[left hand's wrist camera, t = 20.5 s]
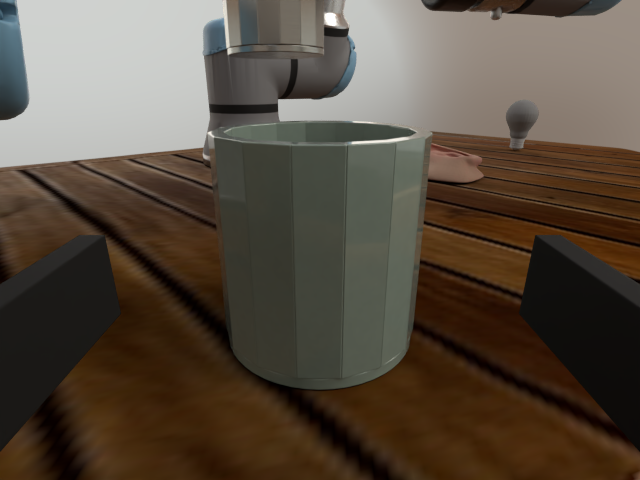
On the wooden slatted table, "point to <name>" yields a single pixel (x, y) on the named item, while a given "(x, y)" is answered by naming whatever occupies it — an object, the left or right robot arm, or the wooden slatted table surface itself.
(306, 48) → the tumbler
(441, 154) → the anatomical model
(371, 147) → the pot
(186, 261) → the wooden slatted table surface
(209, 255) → the wooden slatted table surface
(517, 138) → the light bulb
